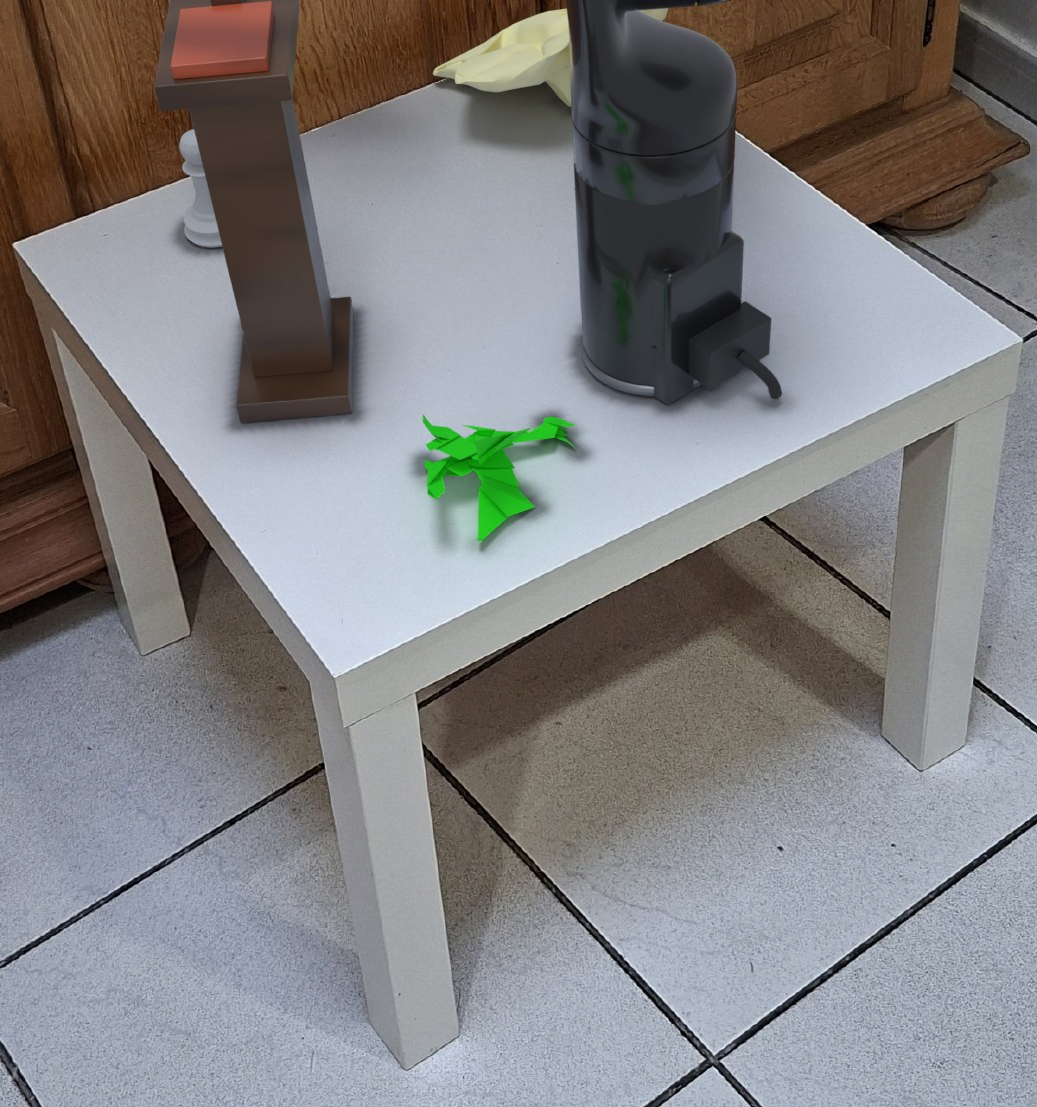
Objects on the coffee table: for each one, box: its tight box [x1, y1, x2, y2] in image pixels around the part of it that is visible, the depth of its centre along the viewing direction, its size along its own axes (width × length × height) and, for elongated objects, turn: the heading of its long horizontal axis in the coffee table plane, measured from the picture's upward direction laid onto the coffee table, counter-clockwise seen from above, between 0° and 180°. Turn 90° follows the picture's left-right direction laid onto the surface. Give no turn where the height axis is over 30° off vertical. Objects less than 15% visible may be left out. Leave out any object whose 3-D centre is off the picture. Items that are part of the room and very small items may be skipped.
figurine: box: [422, 414, 578, 543], centre depth 95 cm, size 6×12×9 cm
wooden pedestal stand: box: [153, 0, 355, 424], centre depth 97 cm, size 10×7×24 cm
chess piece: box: [178, 128, 223, 249], centre depth 113 cm, size 5×5×8 cm
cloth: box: [432, 8, 669, 108], centre depth 123 cm, size 22×19×6 cm
